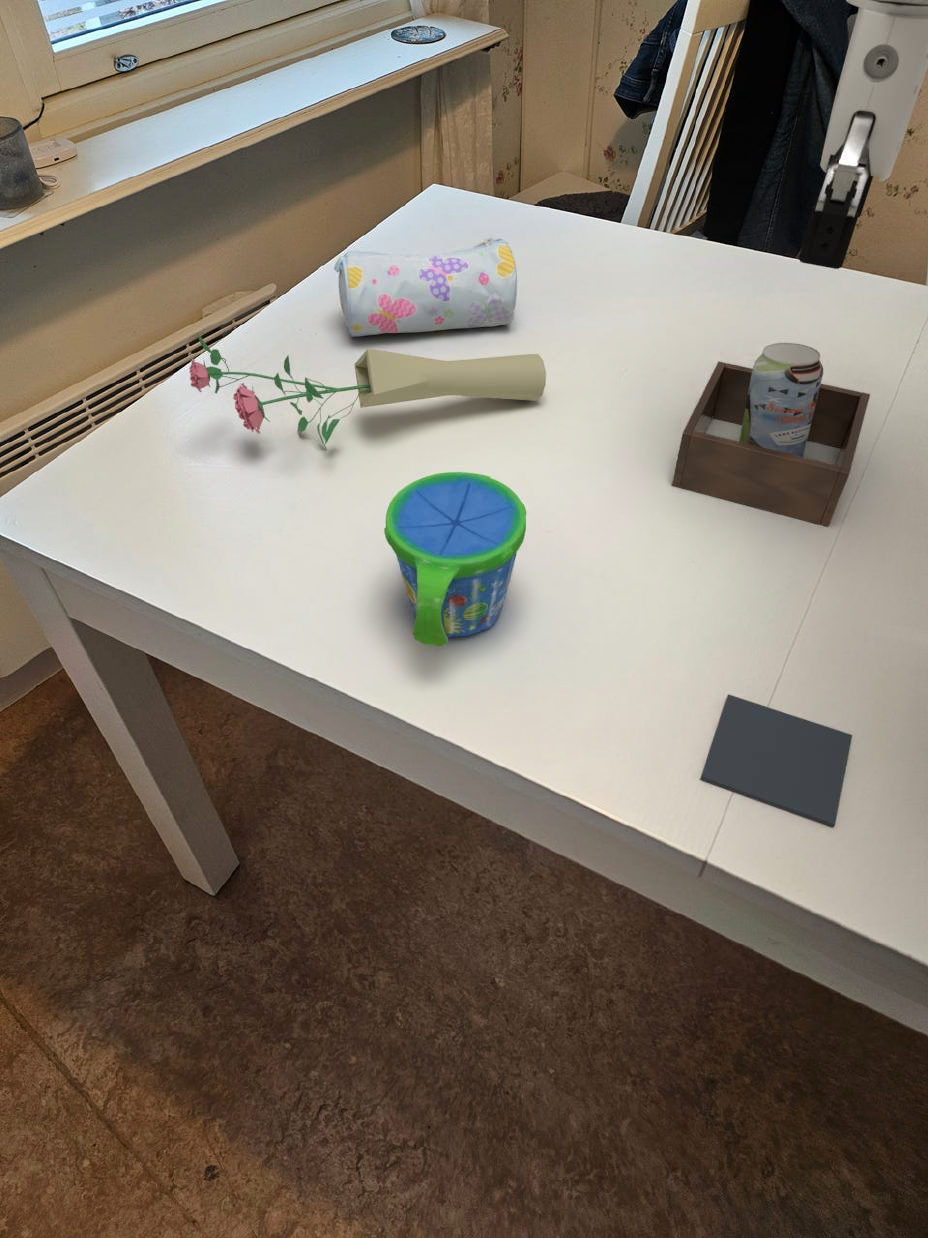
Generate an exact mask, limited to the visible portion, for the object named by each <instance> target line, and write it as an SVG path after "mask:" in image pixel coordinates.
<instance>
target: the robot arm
mask: <svg viewBox="0 0 928 1238" xmlns="http://www.w3.org/2000/svg"><path fill="white" fill-rule="evenodd" d="M845 1H846V2H847V3H848V4H850V5H852V6H855V7H857V8H858V10H857V14H856V18H855V22H854V25H853V27H852V28H853V29H852V31H851V36H850V40H849V42H848V48H847V51H846V54H845V59H844V63H843V66H842V70H841V74H840V77H839V81H838V83H837V84H838V85H837V89H836V92H835V96H834V100H833V105H832V109H831V114H830V117H829V122H828V125H827V131H826V135H825V140H824V144H823V149H822V153H821V154H822V155H821V160H820V163H819V166H820V168H821V169H822V171H823V172H824V173H825V177H824V181H823V185H822V187H821V189H820V192H819V196H818V199H817V202H816V205H813V207H812V210H811V214H810V217H809V221H808V224H807V227H806V231H805V234H804V238H803V240H802V241H803V242H802V245H801V249H800V252H799V254H798V255H799V256H798V261H799V262H800V263H802V264H807V265H812V266H818V267H823V268H828V269H834V270H839V269H841V268H842V267H843V265H844V263H845V259H846V256H847V253H848V250H849V247H850V243H851V240H852V238H853V235H854V231H855V228H856V225H857V221H858V219H859V218H860V217H861V215H862V213H863V210H864V207H865V203H866V201H867V198H868V195H869V191H870V188H871V185H872V182H873V179H874V177H877V178H878V182H884V181H886V180H887V179H888V178H890V177H891V174H892V172H893V169H894V166H895V164H896V162H897V158H898V155H899V152H900V150H901V147H902V144H903V141H904V138H905V136H906V132H907V130H908V127H909V124H910V121H911V118H912V114H913V112H914V109H915V107H916V103H917V100H918V98H919V94H920V91H921V89H922V85H923V83H924V80H925V77H926V75H927V71H928V0H845Z"/></svg>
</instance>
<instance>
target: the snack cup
mask: <svg viewBox="0 0 928 1238" xmlns="http://www.w3.org/2000/svg"><path fill="white" fill-rule="evenodd" d="M526 530H527V509H526V507H525V504H524V503H523V502H522V499H521V498H519V496H518V495H517V493H515V491H514V490H513V489H511V488H510V487H509V486H507V485H506V484H504V483H503V482H500V481H499V480H497V479H494V478H492V477H491V476H490V475H487V474H481V473H474V472H467V471H466V472H465V471H450V472H449V471H447V472H440V473H434V474H431V475H426V476H424V477H421V478H419V479H417V480H414V481H413V482H411V483H409V484H407V485H405V486H404V487H403V488H401V489H400V490H399V491H398V492H397V493H396V495H395V496H393V498H392V499H391V501H390V502H389V504H388V506H387V509H386V514H385V527H384V528H383V531H384V535H385V539H386V542H387V543H388V546H390V547H391V549H392V550H393V552H394V554H395V556H396V560H397V562H398V565H399V569H400V573H401V577H402V580H403V583H404V587H405V590H406V594H407V596H408V600H409V603H410V605H411V608H412V610H413V614H414V618H415V620H414V625H413V629H412V635H413V637H414V640H416V641H417V642H419V643H420V644H423V645H427V646H433V647H443V646H446V645H447V644H448V642H449V638H452V637H466V636H471V635H476V634H478V633H480V632H481V631H483V630H488V629H490V628H491V627H492V626H494V625H495V622H496V621H497V619H498V617H499V616H500V615H501V613H502V610H503V608H504V604H505V600H506V597H507V593H508V588H509V584H510V582H511V577H512V574H513V570H514V565H515V561H516V558H517V552H518V551H519V550H520V548H521V546H522V544H523V542H524V540H525V535H526V532H527V531H526Z"/></svg>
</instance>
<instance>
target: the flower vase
mask: <svg viewBox="0 0 928 1238" xmlns="http://www.w3.org/2000/svg"><path fill="white" fill-rule="evenodd" d="M197 338H198V340H199V341H198V342H200V345H201V346H202V347H203V349H204V350H205V351H206V352H207V353H209V359H210V363H211V364H212V365H214V366H212V365H211V366H206V362H205V361H203V364H202V363H200V362H198V361H196V359H195V358H192V359H191V362H190V363H191V364H190V366H189V367H188V370H189V371H188V372H189V374H190V376H189V380H190V386H191V387H192V388H195V389H197V390H198V392H200V393H202V392H203V391H202V389H203V388H206V387H207V386H208V387H209V388H211V386H210V381H211V378H212V379H213V380H215V390H214V393H215V394H217V393H218V392H219V390H220V388H222V387H225V386H228V385H230V384H233V383H236V382H238V381H241V380H243V379H245V378H247V377H250V376H251V377H257V378H262V379H267V380H272V381H273V382H274V385H275V386H276V388H278V389H279V390H280V391H281V392H282V393H283V395H284V396H281V397H278V398H273V399H269V400H266V401H261V400H260V398H259V396H257V395H256V393H255V390H254V386H253V385H252V386H251V387H252V388H251V389H249V388H248V386H247V385H245V383H244V382H242V383H240V382H239V386H238V388H237V389H236V390H235V391H236V392H235V393H234V394H233V397H232V399H233V400H234V401H235V402H234V408H235V410H236V412H237V414H238V418H239V419H240V420H243V424H242V426H243V427H245V429H247V430H250V431H251V432H252V433H254V431H255V432H256V433H257V434H261V432H260V430H261V426H262V424H263V421H264V419H265V420H266V421H268V422H269V423H270V422H271V421H270V419H268V418H267V417H266V414H265V409H264V407H263V406H266V405H269V404H270V405H271V404H274V403H278V402H284V401H289V400H293V399H297V401H296V403H295V402H292V401H289V404H290V406H292V407H293V409H295V410H296V411H297V413H298V415H299V416H302V415H303V411H302V410H301V409H300V408H299V407H298V403H299V400H300V398H306V401H307V402H308V404H309V403H311V402H312V401H313V400H315V401H316V402H317V403H318V404H319V405H320V407H319V408H318V410H317V411H316V413H315V414H314V416H313V417H312V418H311V419H310V421H308V419H307V418H306V417H305V416H302V417H300V419H299V421H298V422H297V430H296V432H297V434H298V435H299V434H301V433H303V432H305V431H306V429H307V427H308V425H309V423H311V422H312V421H313V420H314V419H315V417H316V416H317V414H318V413H319V417H320V421H319V423H318V424H317V427H316V429H317V434H318V436H319V438H320V441H321V443H322V445H323V446H324V449H325V450H326V451H328V449H327V446H326V445H327V443H328V441H329V439H330V438H331V436H332V434H333V432H334V430H335V428H336V427H337V425H338V424H339V422H340V420H341V419H343V418H345V417H348V415H349V414H350V413H351V412H352V410H353V407H354V405H355V403H356V401H357V400H359V401H358V402H359V407H360V409H363V408H369V407H376V406H377V407H378V406H384V405H390V404H397V403H404V402H405V403H406V402H411V401H418V400H419V401H420V400H426V399H433V398H440V397H446V396H455V397H456V396H459V397H473V398H487V399H502V400H504V399H505V400H518V401H534V402H537V401H538V400H539V399H540V398H541V397H542V396H543V394H544V390H545V388H546V382H547V381H546V380H547V371H546V366H545V362H544V359H543V358H542V357H541V355H540V354H539V353H526V354H515V355H504V356H493V357H480V358H471V359H457V360H442V359H436V358H429V357H423V356H416V355H410V354H406V353H405V354H404V353H399V352H398V353H397V352H391V351H387V350H379V349H373V348H367V349H366V350H365V351H364V352H363V353H362V354H361V355H360V357H359V358H358V359H357V361H356V362H354V364H353V365H354V371H355V378H356V385H352V386H345V387H332V386H327V385H324V384H323V383H321V382H320V381H316V380H312V379H310V378H307V377H306V376H305V377H304V382H303V381H295V380H294V378H293V376H292V375H291V365H290V364H291V363H290V355H289V354H287V356H286V357H285V359H284V361H283V369H284V372H285V373H286V375H288V376H289V377H290V379H292V380H290V379H284V378H281V377H280V375H279V372H277V373H276V374H275V376H268V375H264V374H260V373H255V372H253V373H252V372H244V371H230V369H229V366H228V364H227V359H226V358H224V357H222V354H221V353H220V351H219V349H216V348H213V349H210V348H209V346H208V345H207V343H206V341H205V340H203V337H202V336H200V334H199V333H197ZM221 361H223V363H224V364H225V366H226V368H227V371H222V369H221V368H219V367H216V366H218V365H219V364H220V362H221ZM226 375H228V376H226ZM229 375H238V376H243V377H241V378H235V377H231V376H229ZM221 378H228V379H231V380H233V381H231V382H229V383H226V384H223V385H220V381H219V380H221ZM311 382H315V383H317V384H315V383H311ZM283 383H288V384H293V385H294V388H295V389H296V390H297V394H292V395H286V393H296V391H294V390H284V387H283ZM297 385H300V386H304V388H305V391H300V390H299V389H298V387H297ZM316 388H320V389H323V390H317V389H316ZM353 390H354V391H355V390H357V392H358V394H357V397H356V398H355V400H354V401H353V402H352V403H351V404H350V405H348V406H347V407H345V408H342V409H340V410H339V411H337V412H335V413H334V414H332V415H330V414H328V415H327V418H326V420H325V421H324V422H323V424H322V422H321V421H322V413H321V412H320V411H321V408H322V407H323V406H324V405H325V403H326V402H327V401H328V400H329V399H330V398H331V397H332V396H333V395H334V394H336V393H339V392H347V391H353ZM324 394H330V395H329V396H328V397H327V398H326V399H325V400H324V397H323V396H322V395H324ZM316 398H317V399H322V400H324V401H323V403H321V402H319V401H318V400H317V399H316ZM349 407H351V409H350V411H349V412H348V413H347V414H346V415H343V416H342V417H341V418H333V419H332V420H331V421H330V422H329V424H328V420H329V419H331V418H332V417H334V416H335V415H337V414H338V413H340V412H342V411H344V410H346V409H348V408H349ZM321 424H322V426H320V425H321ZM320 427H321V429H320ZM322 437H323V438H322ZM324 441H325V442H324Z"/></svg>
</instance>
